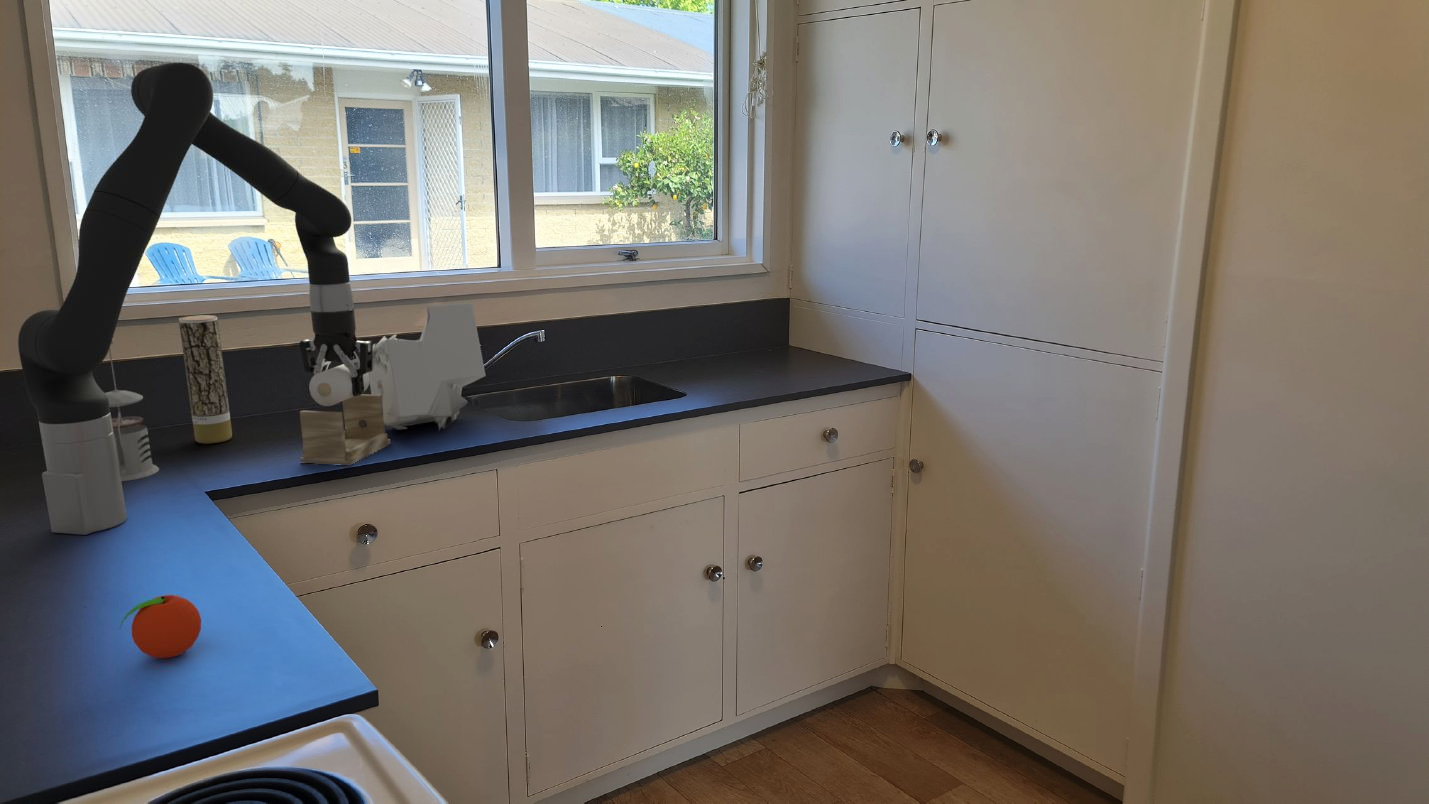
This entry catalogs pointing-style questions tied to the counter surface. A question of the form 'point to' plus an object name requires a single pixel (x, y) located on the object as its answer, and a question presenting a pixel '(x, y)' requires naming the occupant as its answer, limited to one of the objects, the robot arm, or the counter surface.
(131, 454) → the french press
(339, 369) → the roll
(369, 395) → the holder
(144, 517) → the counter surface
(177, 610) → the clementine
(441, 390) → the white jagged block
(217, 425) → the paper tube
